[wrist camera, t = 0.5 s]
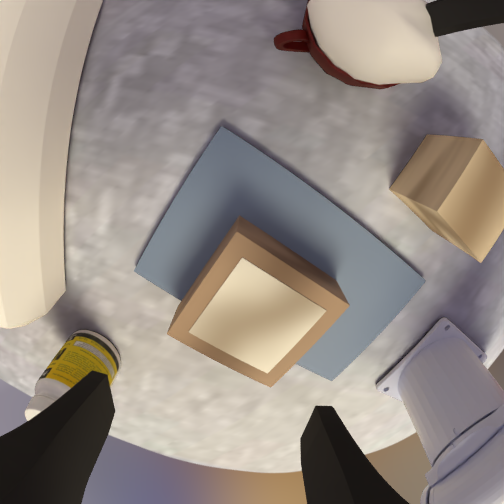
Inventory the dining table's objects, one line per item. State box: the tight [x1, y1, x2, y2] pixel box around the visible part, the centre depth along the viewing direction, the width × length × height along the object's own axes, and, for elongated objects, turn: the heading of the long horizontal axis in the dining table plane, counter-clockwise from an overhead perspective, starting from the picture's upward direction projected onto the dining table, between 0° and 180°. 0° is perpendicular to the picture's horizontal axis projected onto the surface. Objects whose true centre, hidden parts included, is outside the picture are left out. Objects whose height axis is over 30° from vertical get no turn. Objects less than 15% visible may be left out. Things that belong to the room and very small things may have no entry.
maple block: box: [389, 134, 504, 263], centre depth 14 cm, size 4×4×6 cm
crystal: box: [0, 0, 103, 329], centre depth 13 cm, size 7×7×24 cm
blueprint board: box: [134, 126, 425, 381], centre depth 19 cm, size 16×10×1 cm, turn 56°
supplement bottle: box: [25, 330, 121, 421], centre depth 17 cm, size 5×5×8 cm
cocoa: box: [274, 0, 504, 89], centre depth 8 cm, size 10×6×12 cm, turn 81°
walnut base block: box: [167, 215, 350, 387], centre depth 17 cm, size 7×7×3 cm
